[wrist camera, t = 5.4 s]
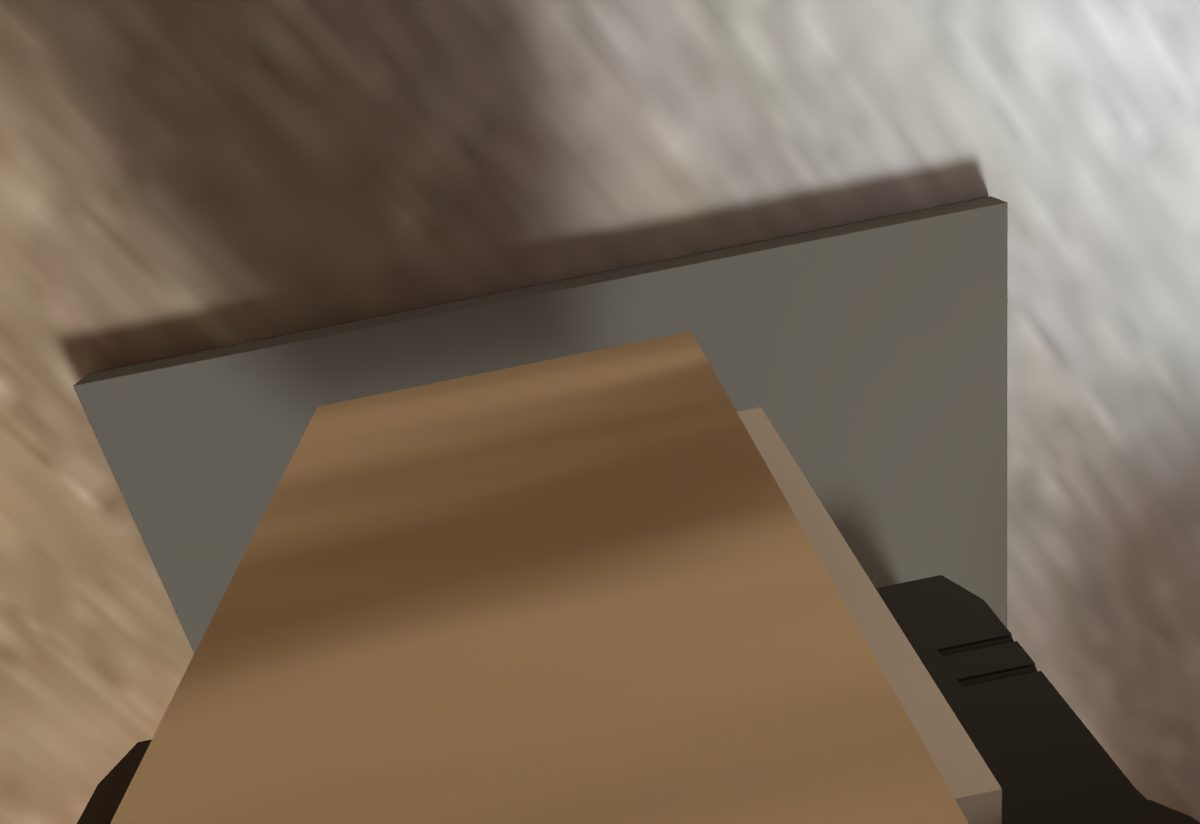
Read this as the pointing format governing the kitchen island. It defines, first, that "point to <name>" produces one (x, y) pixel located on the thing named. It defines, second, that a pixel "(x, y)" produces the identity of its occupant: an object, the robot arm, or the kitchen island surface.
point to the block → (536, 625)
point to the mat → (622, 316)
